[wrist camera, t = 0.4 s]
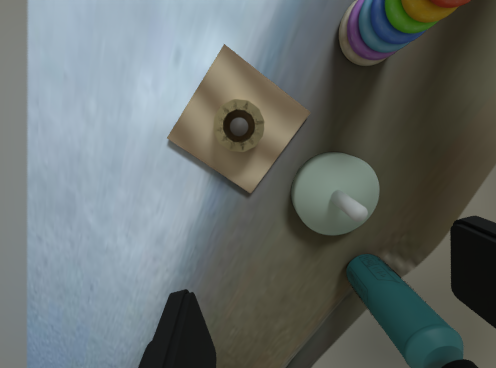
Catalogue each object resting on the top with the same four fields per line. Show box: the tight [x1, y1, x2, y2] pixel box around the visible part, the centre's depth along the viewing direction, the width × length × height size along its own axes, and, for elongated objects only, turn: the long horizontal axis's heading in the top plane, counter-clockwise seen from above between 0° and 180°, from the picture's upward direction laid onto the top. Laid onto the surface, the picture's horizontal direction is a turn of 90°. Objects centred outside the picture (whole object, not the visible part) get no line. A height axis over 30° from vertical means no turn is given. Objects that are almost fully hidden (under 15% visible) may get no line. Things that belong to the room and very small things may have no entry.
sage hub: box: [291, 152, 379, 235], centre depth 31 cm, size 12×12×9 cm
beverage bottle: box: [347, 254, 478, 368], centre depth 30 cm, size 6×7×20 cm
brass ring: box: [213, 99, 265, 152], centre depth 29 cm, size 6×6×4 cm
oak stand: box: [167, 44, 311, 193], centre depth 29 cm, size 14×14×7 cm
